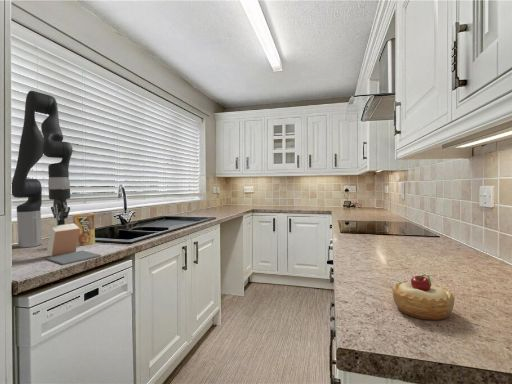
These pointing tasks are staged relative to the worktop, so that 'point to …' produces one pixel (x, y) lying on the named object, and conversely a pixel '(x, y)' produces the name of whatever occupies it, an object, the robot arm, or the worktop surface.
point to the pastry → (423, 299)
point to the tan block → (63, 239)
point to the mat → (72, 257)
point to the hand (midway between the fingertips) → (61, 228)
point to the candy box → (85, 228)
